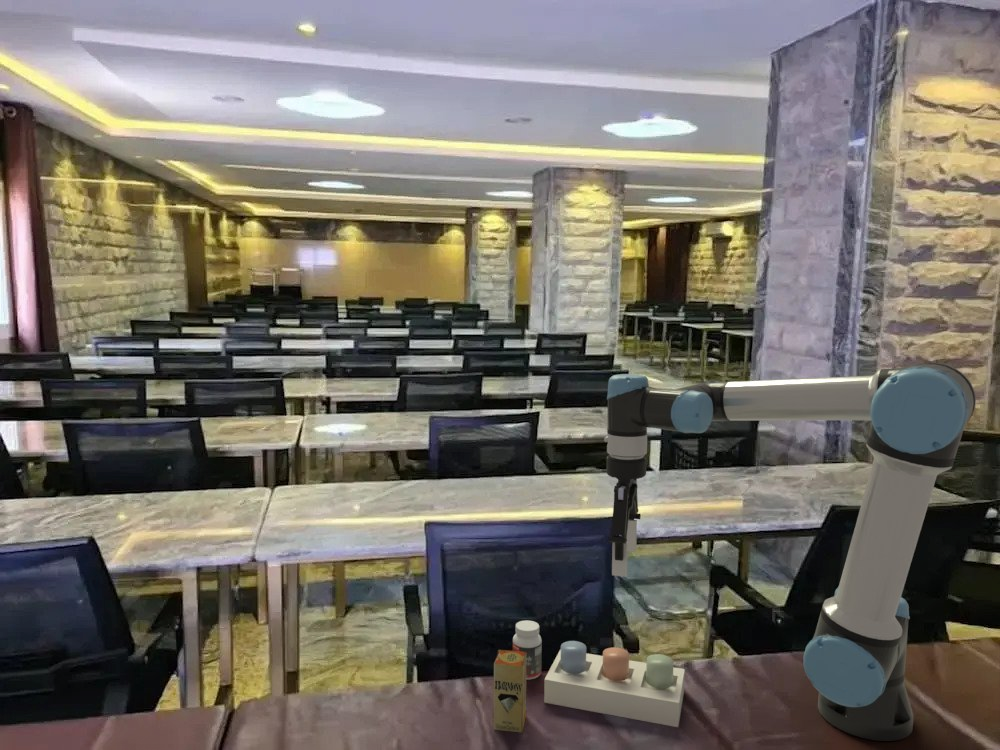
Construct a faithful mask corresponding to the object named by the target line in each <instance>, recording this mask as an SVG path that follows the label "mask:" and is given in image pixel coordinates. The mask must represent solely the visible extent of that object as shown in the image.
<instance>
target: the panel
mask: <svg viewBox="0 0 1000 750" xmlns="http://www.w3.org/2000/svg"><path fill="white" fill-rule="evenodd" d="M685 673H686V670H685V669H684V668H681V667H674V666H673V685H672V686H671V687H669V688H665V689H660V688H655V687H652V686H650V685H649V684H648V683H647V682H646V662H643V661H637V660H630V659H629V676H628V678H627V679H625V680H622V681H613V680H609V679H607V678H605V677H604V676H603V655H599V654H592V653H587V652H586V670H585V671H584V672H582V673H578V674H571V673H567V672H565V671H563V670H562V669H561V648H560V649H559V651H558V653H557V654H556V657H555V659H553V663H552V664H551V666H550V668H549V670H548V672H547V674H546V676H544V677H545V678H544V681H543V682H544V690H543V691H544V697H543V701H544V704H550V705H556V706H560V707H566V708H572V709H577V710H578V709H579V710H582V711H588V712H591V713H592V712H593V713H598V714H599V713H600V714H604V715H610V716H615V717H620V718H626V719H630V720H638V721H642V722H648V723H653V724H657V725H658V724H659V725H664V726H668V727H669V726H670V727H673V728H679V726H680V719H681V712H682V707H683V700H684V695H685V694H684V693H685Z"/></svg>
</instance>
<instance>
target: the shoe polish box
mask: <svg viewBox="0 0 1000 750" xmlns="http://www.w3.org/2000/svg"><path fill="white" fill-rule="evenodd" d="M526 718H527V680H526V652H520V651H513V650H508V649H507V650H505V649H497V654H496V657H495V660H494V662H493V730H495V731H503V732H505V731H506V732H514V733H523V731H524V727H525V721H526Z"/></svg>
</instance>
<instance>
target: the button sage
mask: <svg viewBox="0 0 1000 750" xmlns="http://www.w3.org/2000/svg"><path fill="white" fill-rule="evenodd" d="M645 663H646V682H647V683H648V684H649V685H650V686H652V687H655V688H660V689H665V688H669V687H671V686H672V685H673V667H674V659H673V658H671V657H670V656H668V655H666V654H661V653H655V654H649V656H647V657H646V662H645Z"/></svg>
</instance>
